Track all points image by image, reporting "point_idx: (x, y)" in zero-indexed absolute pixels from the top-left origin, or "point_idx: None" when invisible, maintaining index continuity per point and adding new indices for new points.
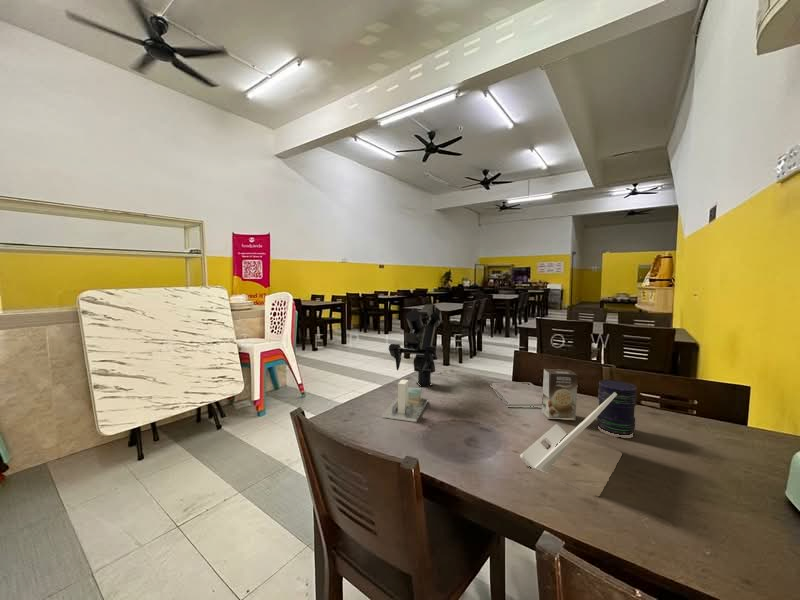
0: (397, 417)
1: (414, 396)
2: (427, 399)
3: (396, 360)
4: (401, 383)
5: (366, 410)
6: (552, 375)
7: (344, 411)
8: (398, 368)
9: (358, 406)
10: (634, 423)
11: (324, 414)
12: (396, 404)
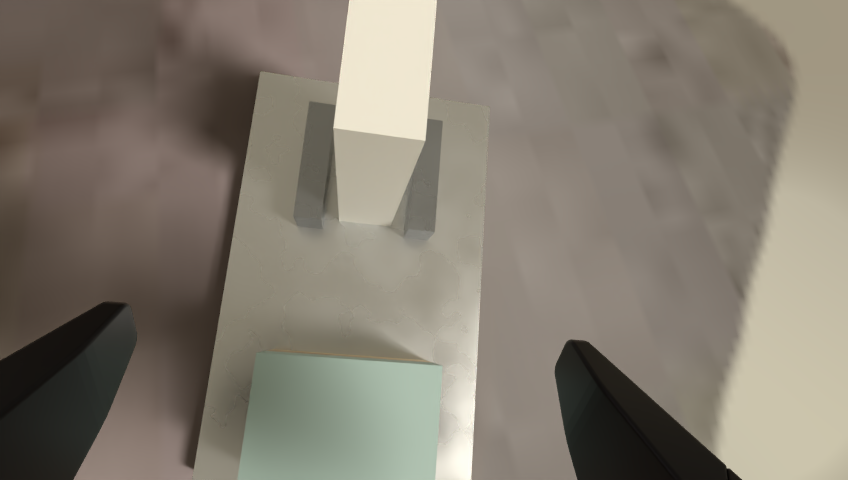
0: None
1: (303, 353)
2: (196, 464)
3: (712, 469)
4: (397, 3)
5: (607, 197)
6: None
7: (717, 161)
8: (565, 394)
9: (677, 248)
10: None
11: (789, 108)
12: (425, 177)
